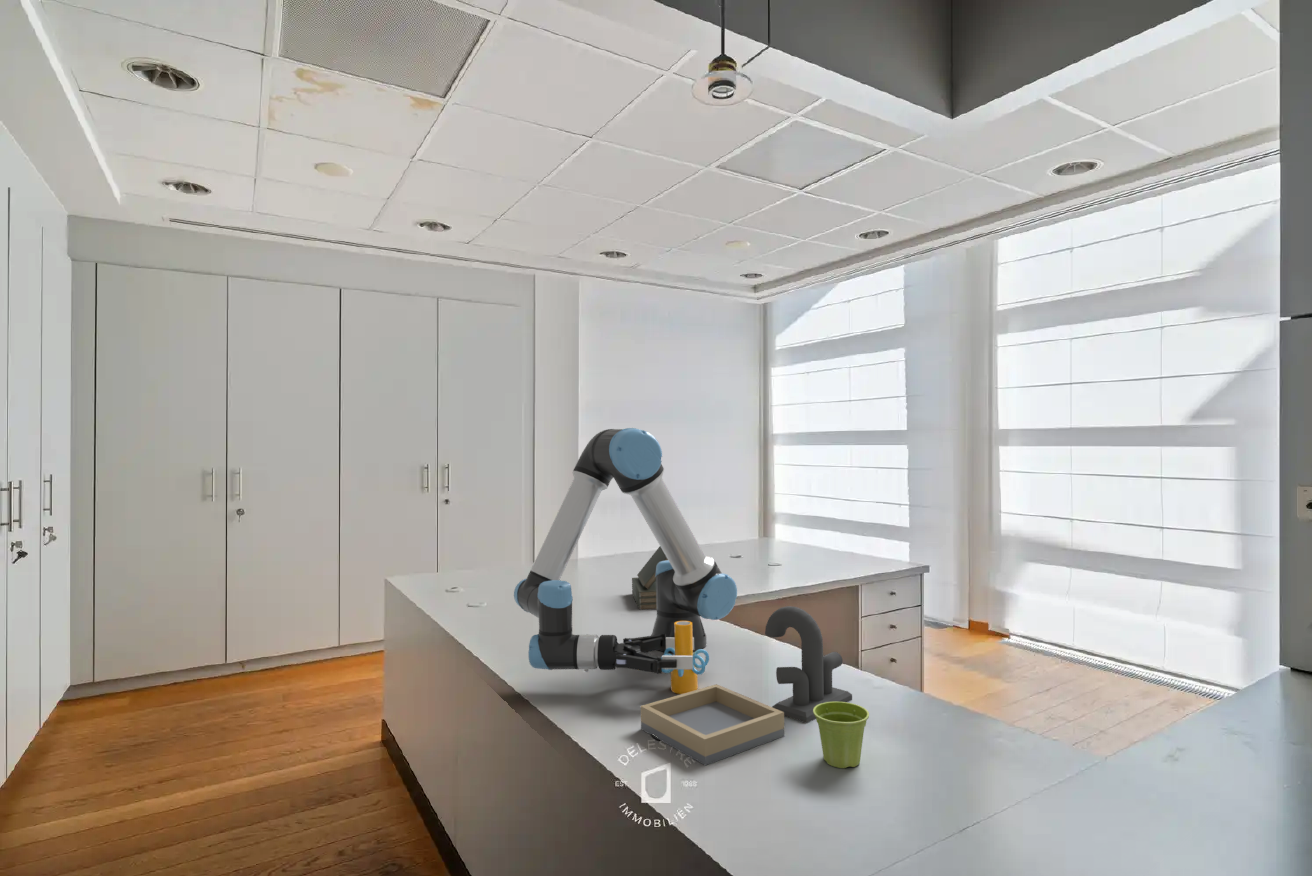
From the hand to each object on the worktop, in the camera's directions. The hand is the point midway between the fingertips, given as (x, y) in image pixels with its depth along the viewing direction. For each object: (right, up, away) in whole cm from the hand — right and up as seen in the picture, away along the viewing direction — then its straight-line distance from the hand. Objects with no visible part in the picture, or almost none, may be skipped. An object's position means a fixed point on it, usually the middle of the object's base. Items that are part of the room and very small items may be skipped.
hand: (693, 652), depth 161 cm
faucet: (+22, -8, -7) cm, 24 cm away
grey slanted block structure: (-6, -8, +87) cm, 87 cm away
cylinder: (-2, -9, 0) cm, 9 cm away
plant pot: (+24, -9, -35) cm, 43 cm away
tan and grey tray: (+2, -9, -22) cm, 24 cm away
